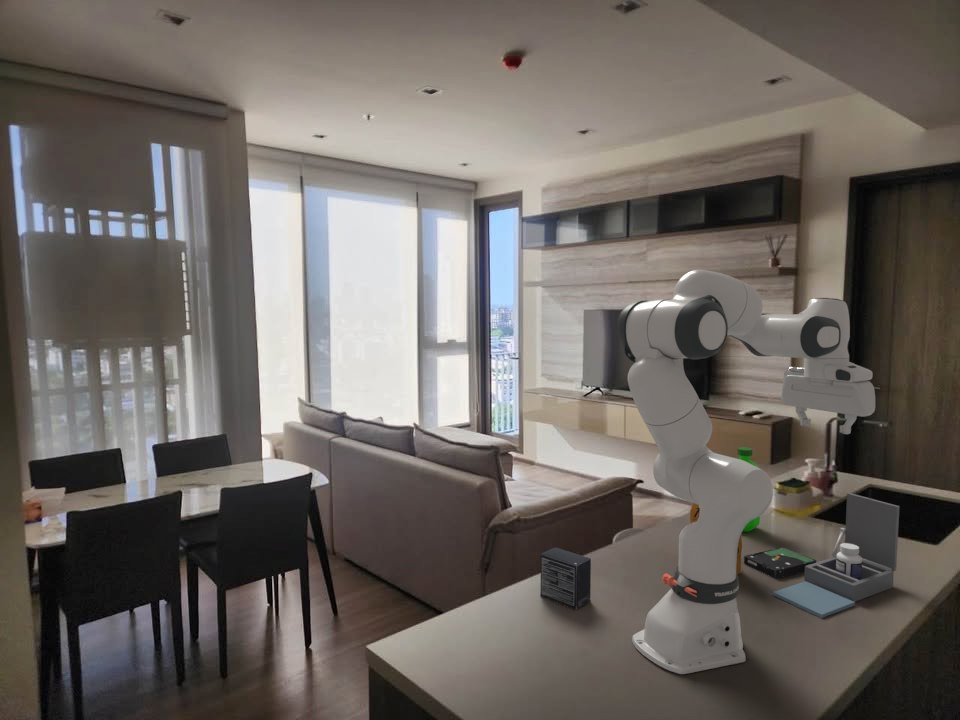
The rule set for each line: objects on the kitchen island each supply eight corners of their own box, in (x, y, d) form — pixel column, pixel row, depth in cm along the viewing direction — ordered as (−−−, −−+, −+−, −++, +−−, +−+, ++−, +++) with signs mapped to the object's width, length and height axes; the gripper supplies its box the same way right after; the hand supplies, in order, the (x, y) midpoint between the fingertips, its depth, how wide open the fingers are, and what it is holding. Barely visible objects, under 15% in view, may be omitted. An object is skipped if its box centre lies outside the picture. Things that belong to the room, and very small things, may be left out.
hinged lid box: (852, 602, 139) (856, 517, 138) (800, 580, 151) (803, 501, 149) (895, 586, 147) (899, 506, 145) (842, 566, 159) (845, 491, 157)
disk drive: (775, 581, 152) (817, 570, 158) (776, 570, 151) (817, 559, 157) (743, 565, 161) (782, 555, 167) (743, 555, 161) (783, 545, 167)
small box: (592, 601, 141) (592, 557, 140) (576, 611, 136) (576, 566, 136) (555, 587, 148) (555, 545, 148) (539, 596, 144) (539, 553, 143)
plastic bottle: (760, 525, 189) (762, 446, 187) (760, 537, 179) (763, 454, 177) (725, 520, 193) (727, 443, 191) (724, 532, 183) (726, 451, 181)
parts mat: (821, 618, 132) (821, 614, 132) (772, 595, 143) (773, 592, 143) (854, 605, 138) (854, 602, 138) (805, 584, 149) (805, 581, 149)
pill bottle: (861, 583, 149) (863, 544, 148) (861, 591, 145) (862, 552, 144) (835, 577, 152) (837, 540, 151) (834, 586, 147) (836, 547, 147)
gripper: (775, 367, 145) (774, 423, 146) (863, 375, 127) (861, 439, 128) (792, 365, 148) (791, 420, 149) (880, 372, 130) (878, 436, 131)
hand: (824, 429), depth 138 cm, fingers open, 8 cm apart
